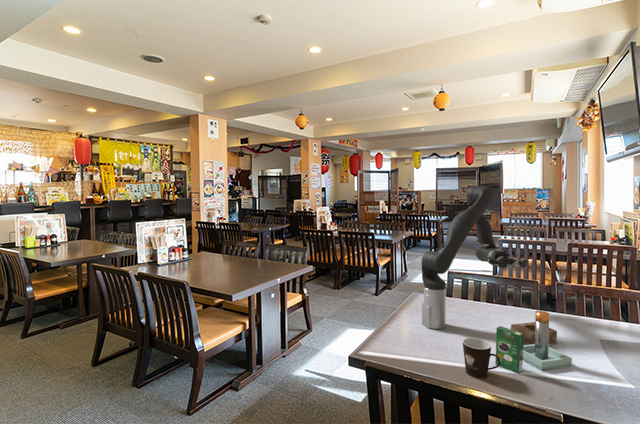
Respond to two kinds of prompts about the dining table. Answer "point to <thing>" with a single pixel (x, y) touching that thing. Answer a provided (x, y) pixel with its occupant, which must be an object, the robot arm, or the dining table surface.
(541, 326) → the pin
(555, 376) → the dining table surface
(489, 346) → the coffee mug
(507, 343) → the coffee box
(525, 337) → the block
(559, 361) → the tray
